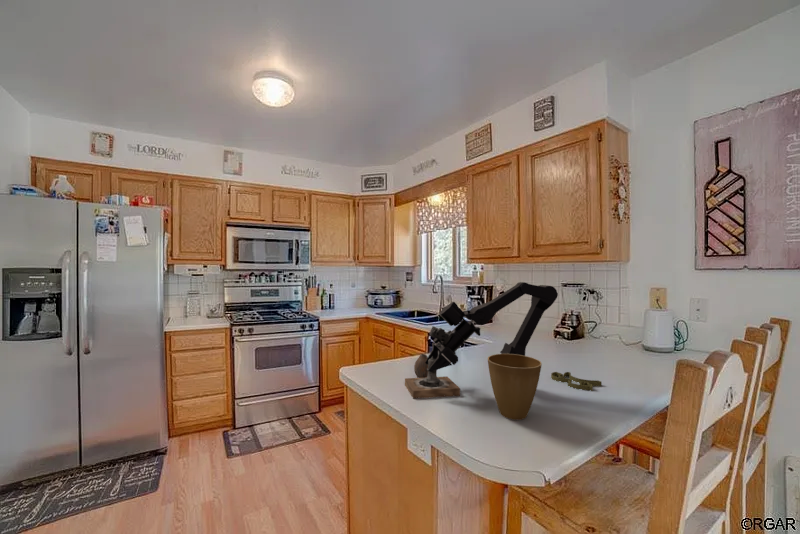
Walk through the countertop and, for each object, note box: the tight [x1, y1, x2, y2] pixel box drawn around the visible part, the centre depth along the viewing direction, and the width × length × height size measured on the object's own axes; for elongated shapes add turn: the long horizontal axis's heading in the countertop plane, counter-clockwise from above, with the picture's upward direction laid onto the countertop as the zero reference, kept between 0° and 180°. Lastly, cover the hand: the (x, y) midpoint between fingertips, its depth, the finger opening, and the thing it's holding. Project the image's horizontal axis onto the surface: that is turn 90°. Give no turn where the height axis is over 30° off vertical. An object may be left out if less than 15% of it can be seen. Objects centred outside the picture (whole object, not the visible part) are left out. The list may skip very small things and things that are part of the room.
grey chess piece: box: [424, 356, 441, 387], centre depth 121 cm, size 6×6×12 cm
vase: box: [413, 353, 428, 378], centre depth 136 cm, size 7×7×9 cm
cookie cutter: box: [550, 371, 603, 392], centre depth 132 cm, size 18×12×2 cm, turn 29°
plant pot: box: [487, 353, 543, 421], centre depth 102 cm, size 15×15×16 cm
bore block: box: [404, 376, 461, 399], centre depth 121 cm, size 16×13×2 cm
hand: (427, 367), depth 121 cm, fingers open, 9 cm apart
